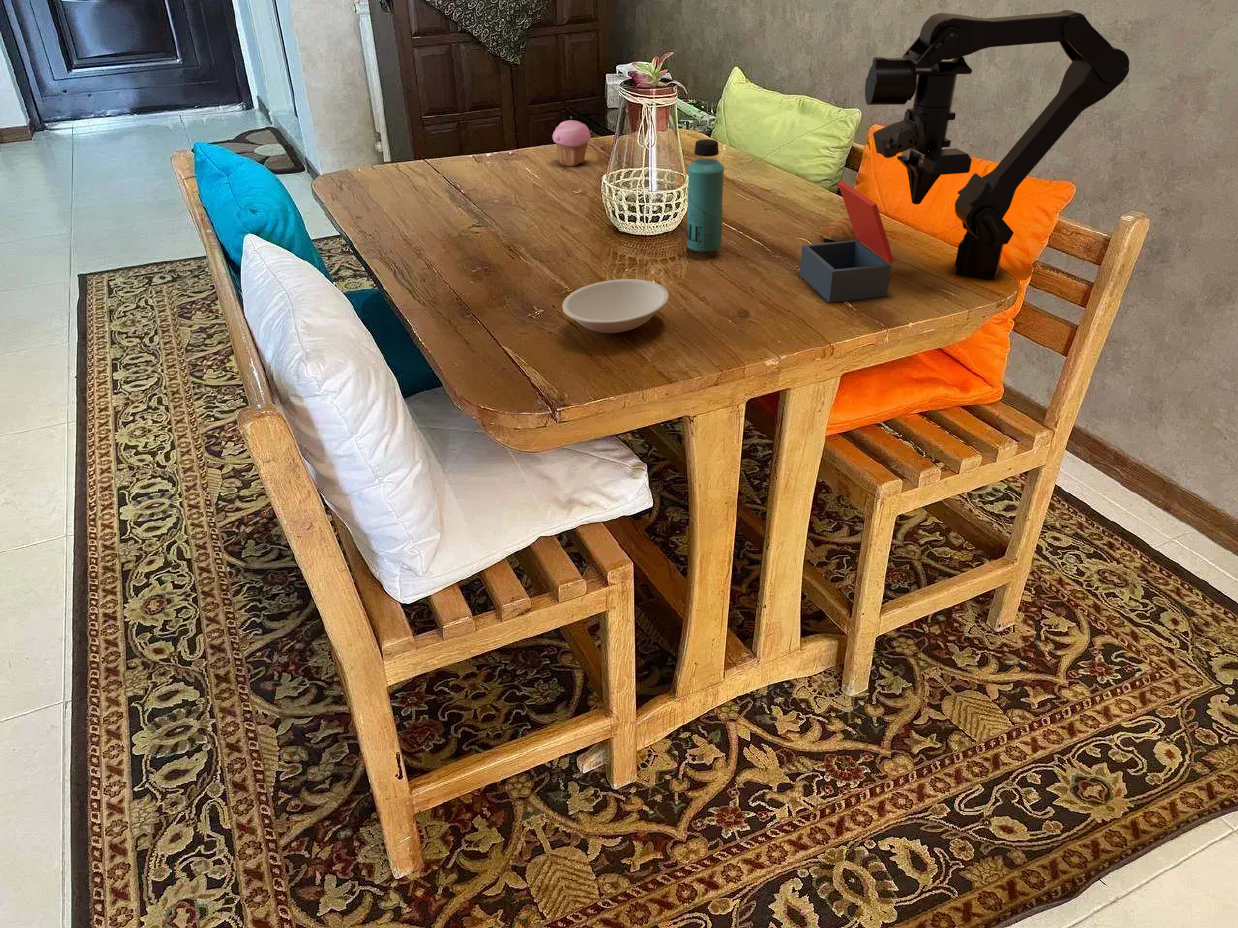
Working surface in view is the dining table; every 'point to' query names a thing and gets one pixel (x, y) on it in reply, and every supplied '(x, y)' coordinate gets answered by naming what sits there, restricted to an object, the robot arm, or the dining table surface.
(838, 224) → the pastry
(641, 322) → the dish
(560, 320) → the dining table surface
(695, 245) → the beverage bottle
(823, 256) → the lunchbox
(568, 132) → the cupcake
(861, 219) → the lid
